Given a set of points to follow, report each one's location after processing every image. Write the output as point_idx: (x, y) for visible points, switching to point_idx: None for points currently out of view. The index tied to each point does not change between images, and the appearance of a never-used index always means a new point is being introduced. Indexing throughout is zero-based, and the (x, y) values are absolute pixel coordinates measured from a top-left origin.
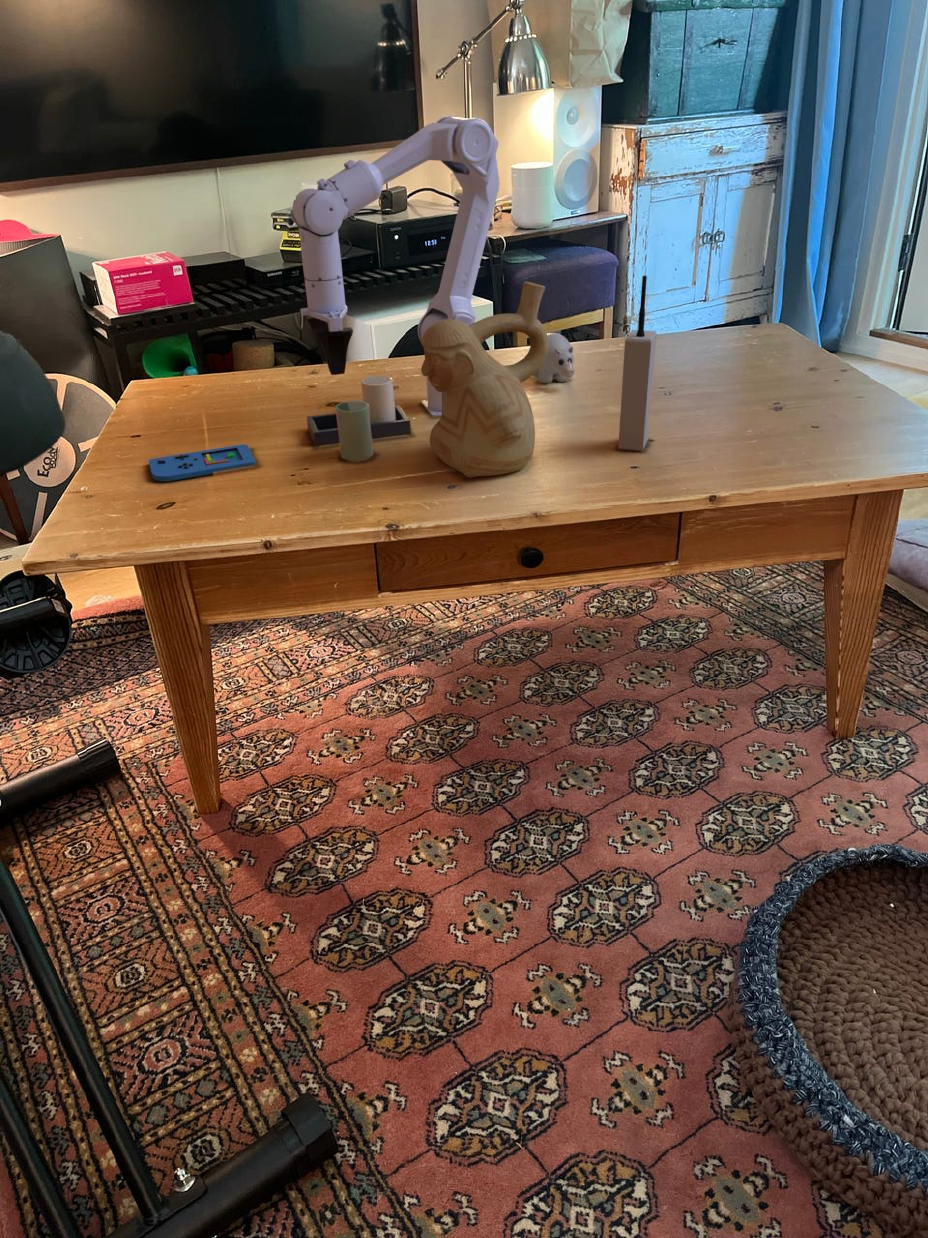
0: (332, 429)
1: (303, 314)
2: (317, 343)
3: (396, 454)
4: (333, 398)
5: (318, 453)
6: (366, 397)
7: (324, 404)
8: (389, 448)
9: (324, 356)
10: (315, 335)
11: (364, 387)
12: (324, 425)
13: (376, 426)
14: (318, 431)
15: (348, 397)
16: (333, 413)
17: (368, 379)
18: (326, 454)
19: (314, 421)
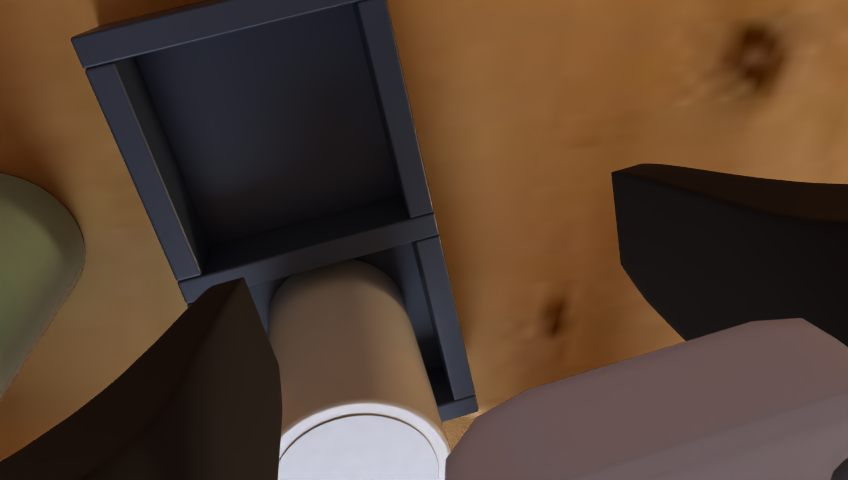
0: (133, 145)
1: (460, 465)
2: (737, 184)
3: (51, 396)
4: (840, 53)
5: (37, 47)
6: (281, 378)
7: (771, 13)
8: (124, 363)
9: (630, 199)
10: (769, 215)
11: (290, 408)
12: (367, 60)
13: None
14: (98, 66)
15: (824, 126)
16: (406, 124)
17: (371, 437)
18: (25, 92)
19: (356, 10)
